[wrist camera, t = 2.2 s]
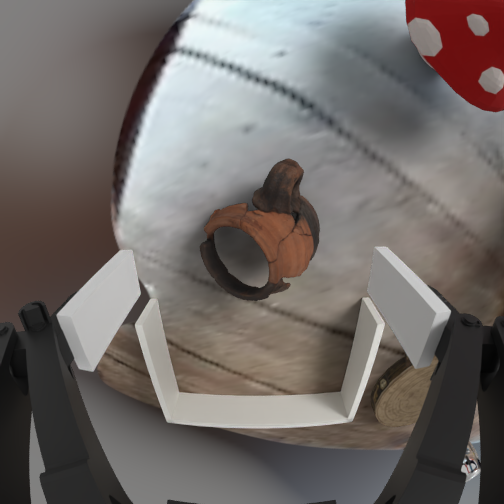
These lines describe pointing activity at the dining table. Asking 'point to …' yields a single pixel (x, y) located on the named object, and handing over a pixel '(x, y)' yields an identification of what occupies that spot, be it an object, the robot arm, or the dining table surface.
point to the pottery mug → (268, 232)
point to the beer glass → (471, 463)
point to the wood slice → (401, 393)
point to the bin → (259, 407)
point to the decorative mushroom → (462, 46)
